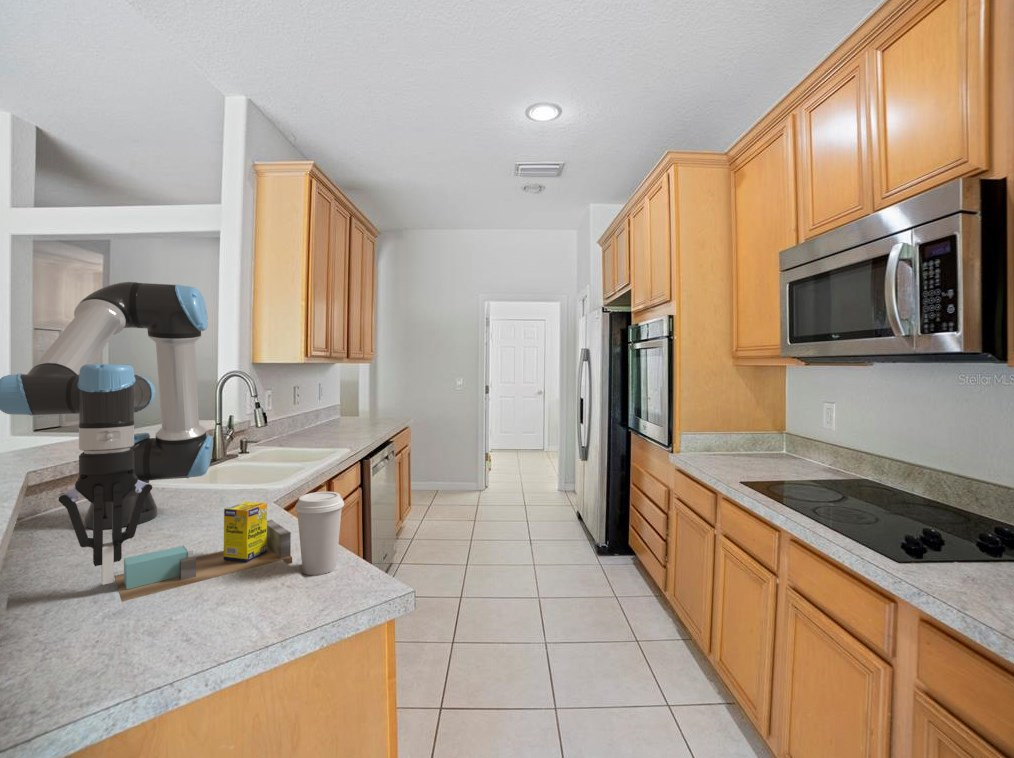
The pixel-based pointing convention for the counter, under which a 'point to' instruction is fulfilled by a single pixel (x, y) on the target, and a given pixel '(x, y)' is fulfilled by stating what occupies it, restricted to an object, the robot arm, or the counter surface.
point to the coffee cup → (319, 530)
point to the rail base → (215, 565)
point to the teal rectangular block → (154, 566)
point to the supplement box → (245, 531)
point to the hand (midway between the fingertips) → (107, 581)
